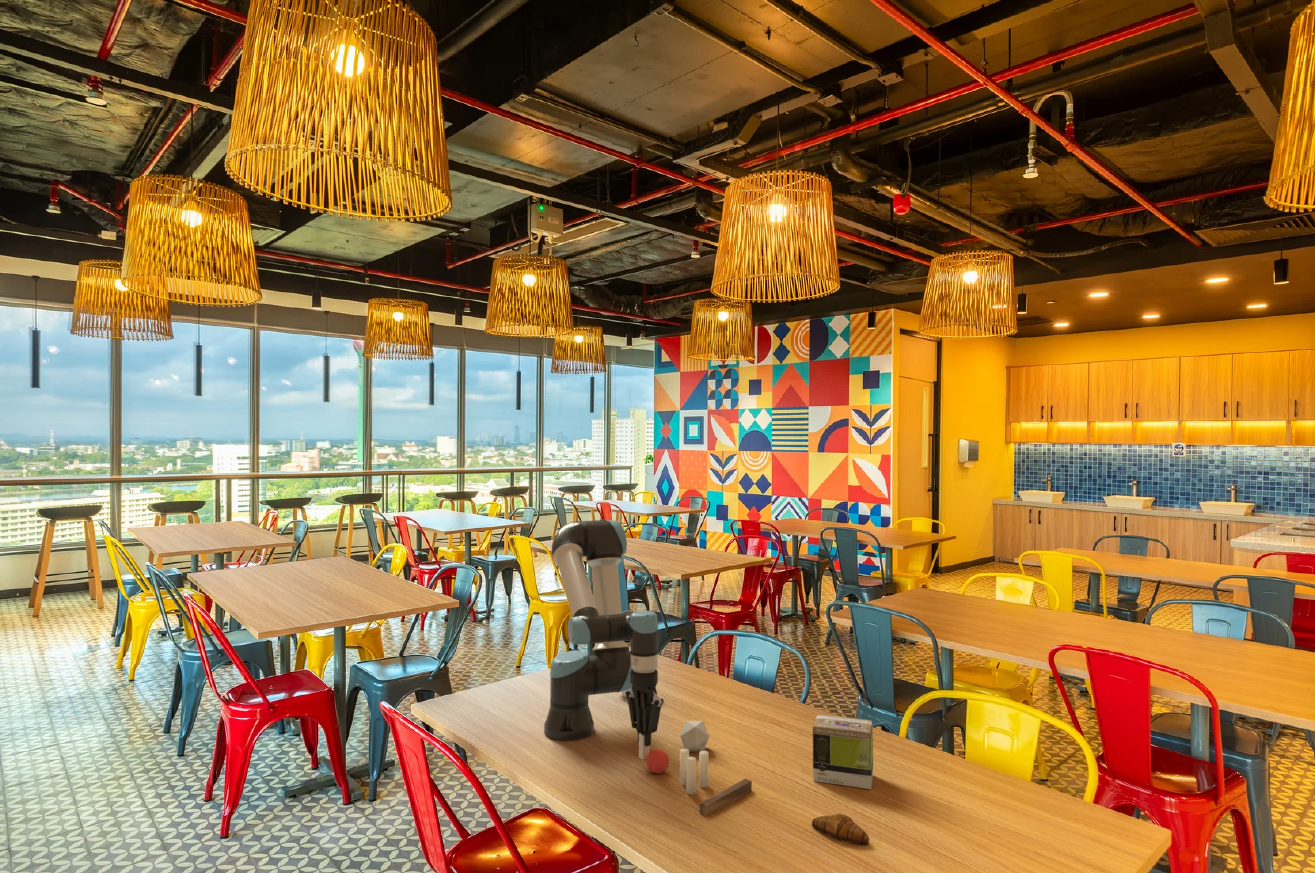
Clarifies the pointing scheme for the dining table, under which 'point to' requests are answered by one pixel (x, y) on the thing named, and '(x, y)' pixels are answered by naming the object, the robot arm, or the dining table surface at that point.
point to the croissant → (841, 828)
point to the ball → (657, 760)
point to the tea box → (843, 751)
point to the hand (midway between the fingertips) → (644, 756)
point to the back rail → (725, 797)
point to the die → (694, 735)
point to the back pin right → (691, 775)
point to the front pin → (683, 765)
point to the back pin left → (703, 769)
